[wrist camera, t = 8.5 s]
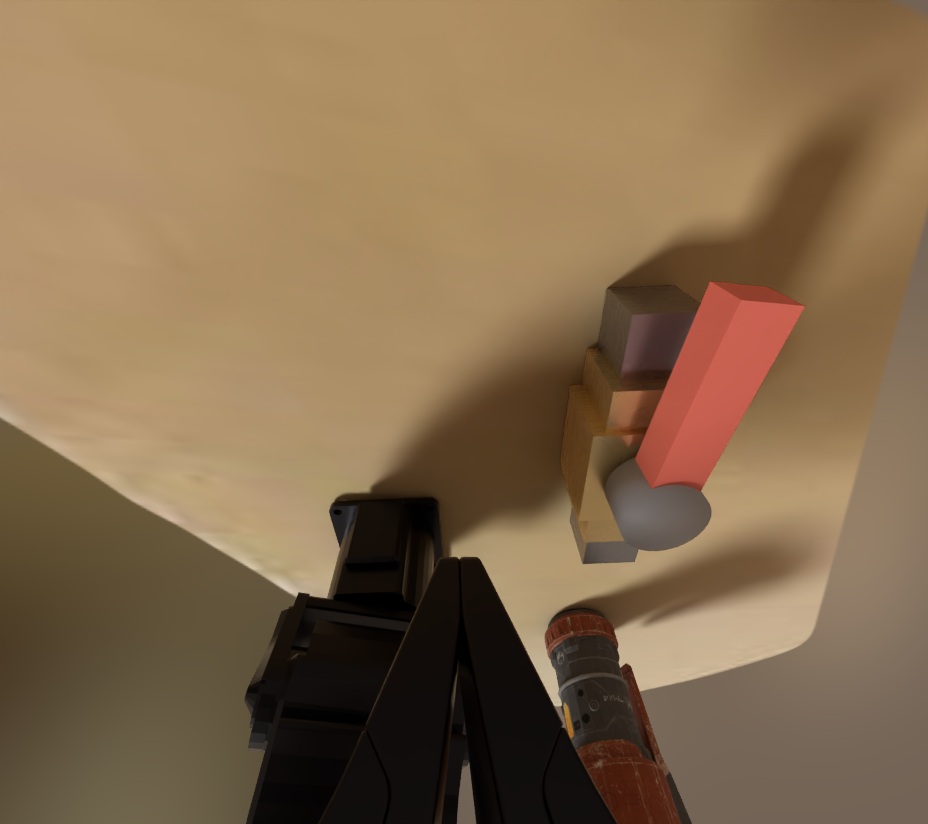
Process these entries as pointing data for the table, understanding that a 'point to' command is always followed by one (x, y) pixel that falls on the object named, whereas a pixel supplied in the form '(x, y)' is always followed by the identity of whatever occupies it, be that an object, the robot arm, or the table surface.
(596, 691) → the grenade
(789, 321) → the lever
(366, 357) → the table surface
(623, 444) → the valve pipe
